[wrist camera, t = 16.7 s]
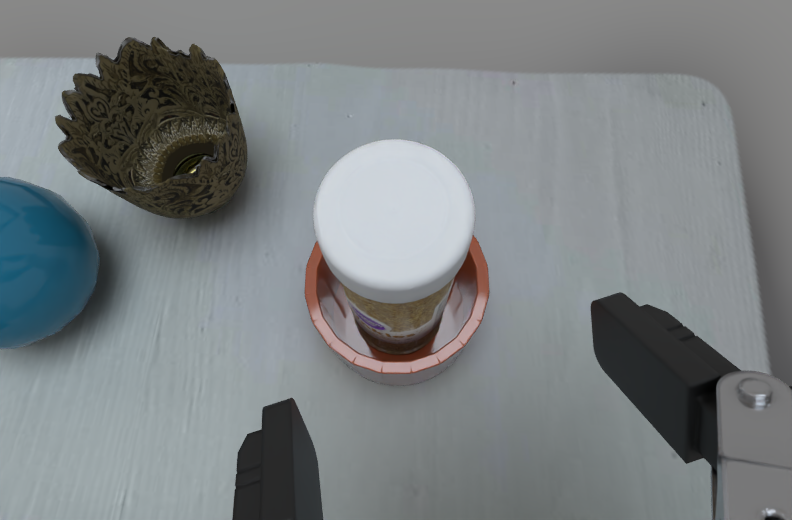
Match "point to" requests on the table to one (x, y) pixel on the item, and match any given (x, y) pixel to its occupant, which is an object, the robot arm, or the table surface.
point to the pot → (402, 369)
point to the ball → (41, 263)
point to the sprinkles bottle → (395, 238)
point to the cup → (157, 129)
